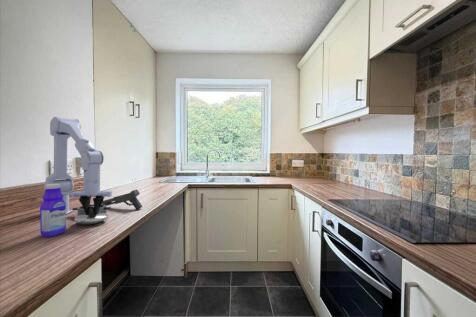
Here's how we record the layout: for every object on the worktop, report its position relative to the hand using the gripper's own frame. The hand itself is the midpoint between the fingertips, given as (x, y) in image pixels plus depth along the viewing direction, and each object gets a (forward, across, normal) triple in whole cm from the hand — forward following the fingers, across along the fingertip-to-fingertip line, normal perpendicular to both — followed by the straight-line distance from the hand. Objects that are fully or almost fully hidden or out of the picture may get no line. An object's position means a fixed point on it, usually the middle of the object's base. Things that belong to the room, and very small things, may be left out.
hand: (91, 214), depth 98 cm
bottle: (+4, -7, -13) cm, 15 cm away
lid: (+3, 0, 0) cm, 3 cm away
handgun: (+4, +2, +26) cm, 26 cm away
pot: (+3, -5, +12) cm, 13 cm away
